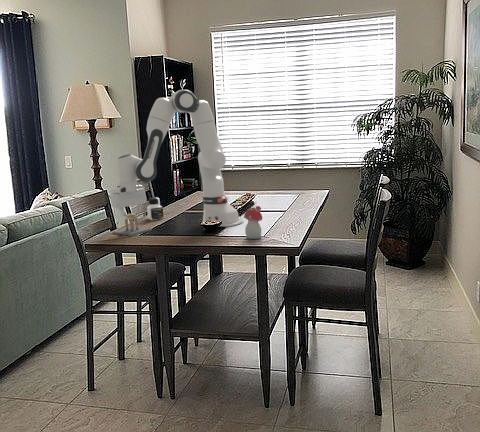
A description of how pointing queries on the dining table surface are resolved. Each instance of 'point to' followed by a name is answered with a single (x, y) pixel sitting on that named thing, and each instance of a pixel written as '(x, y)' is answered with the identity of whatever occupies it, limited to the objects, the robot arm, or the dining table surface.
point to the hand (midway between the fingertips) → (130, 214)
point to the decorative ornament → (253, 223)
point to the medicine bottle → (155, 209)
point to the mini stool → (131, 221)
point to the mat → (134, 232)
